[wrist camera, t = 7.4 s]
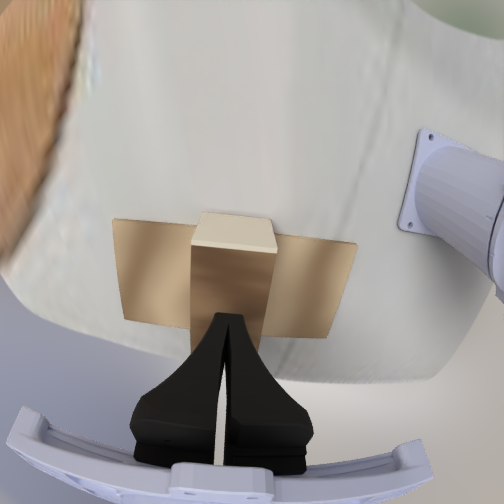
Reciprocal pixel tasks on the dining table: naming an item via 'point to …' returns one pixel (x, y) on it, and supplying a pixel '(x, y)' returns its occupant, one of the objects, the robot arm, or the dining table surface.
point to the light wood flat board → (178, 278)
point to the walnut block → (230, 271)
